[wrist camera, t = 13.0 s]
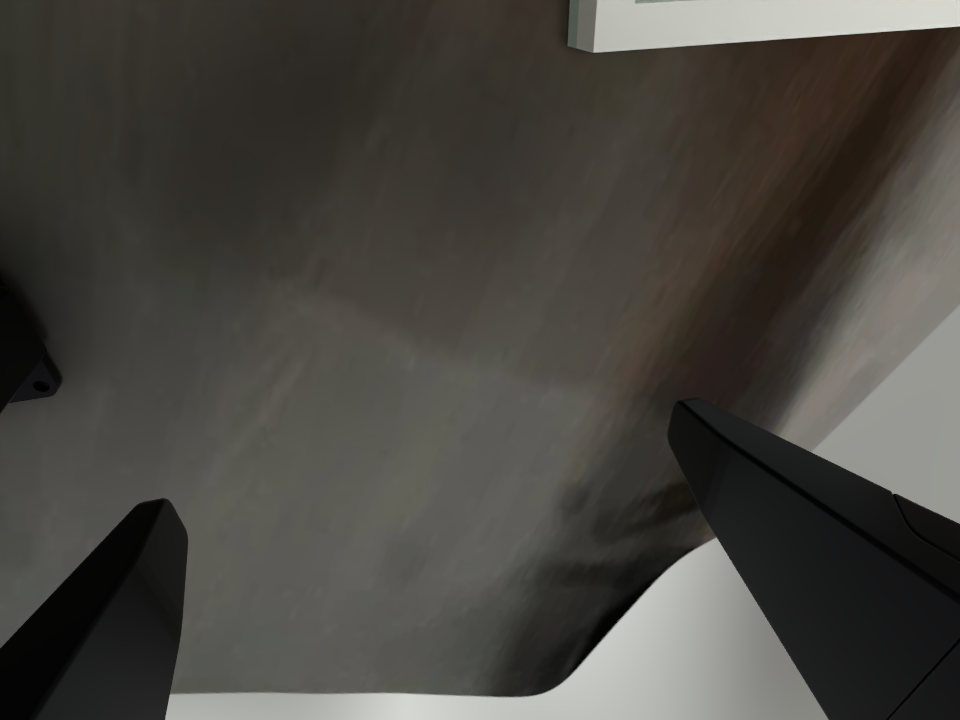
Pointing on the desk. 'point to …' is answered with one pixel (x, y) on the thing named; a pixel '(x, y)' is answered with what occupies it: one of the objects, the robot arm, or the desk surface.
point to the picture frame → (742, 20)
